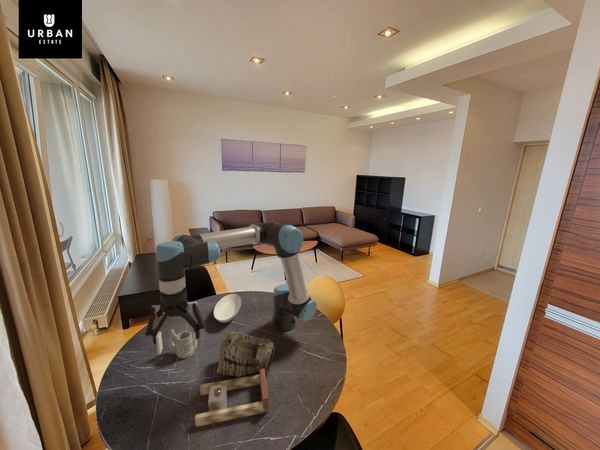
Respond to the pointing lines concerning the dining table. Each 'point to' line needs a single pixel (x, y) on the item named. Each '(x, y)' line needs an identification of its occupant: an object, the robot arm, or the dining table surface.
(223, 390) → the block
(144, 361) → the dining table surface
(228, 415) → the channel
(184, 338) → the mug
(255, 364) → the sculptural head
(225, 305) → the bowl
